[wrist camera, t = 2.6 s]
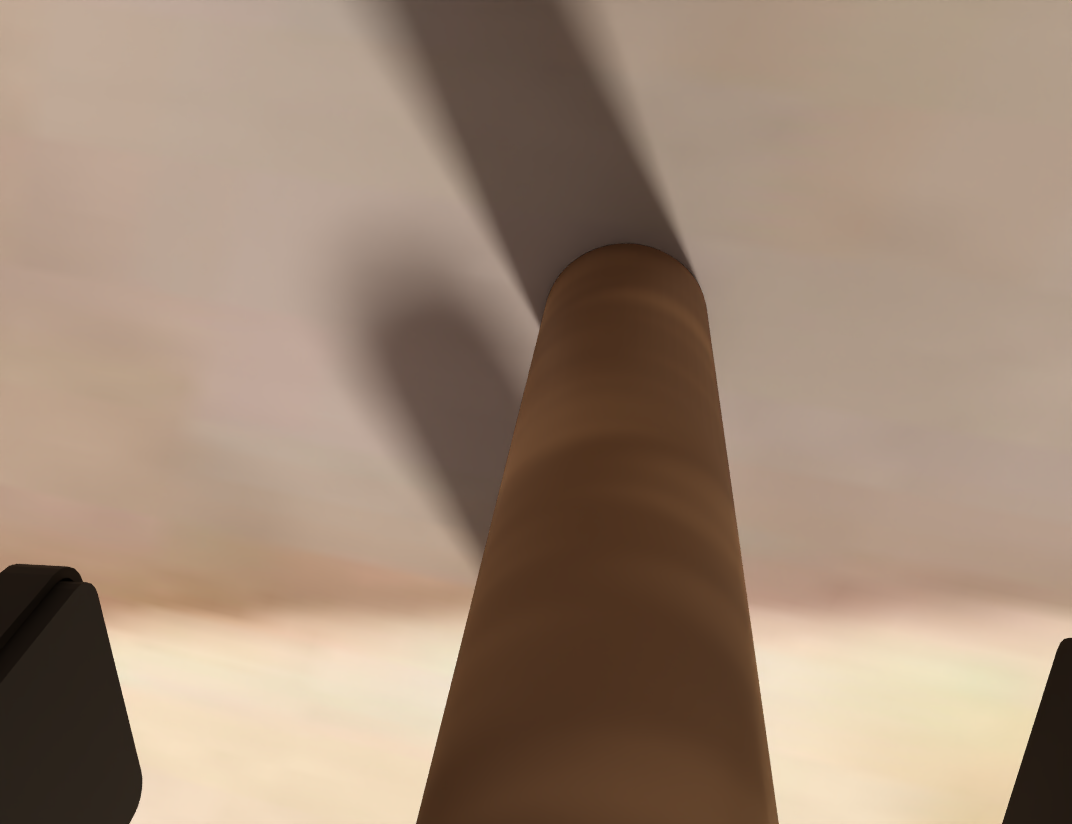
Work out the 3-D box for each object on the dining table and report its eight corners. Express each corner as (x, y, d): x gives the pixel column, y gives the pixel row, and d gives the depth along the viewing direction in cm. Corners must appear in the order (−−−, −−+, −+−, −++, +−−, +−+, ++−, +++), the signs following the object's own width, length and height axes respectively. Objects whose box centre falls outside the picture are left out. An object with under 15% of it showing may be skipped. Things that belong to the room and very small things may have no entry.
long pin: (714, 246, 17) (871, 1094, 5) (700, 397, 19) (798, 1351, 7) (544, 240, 18) (308, 1033, 5) (543, 390, 19) (353, 1295, 7)
